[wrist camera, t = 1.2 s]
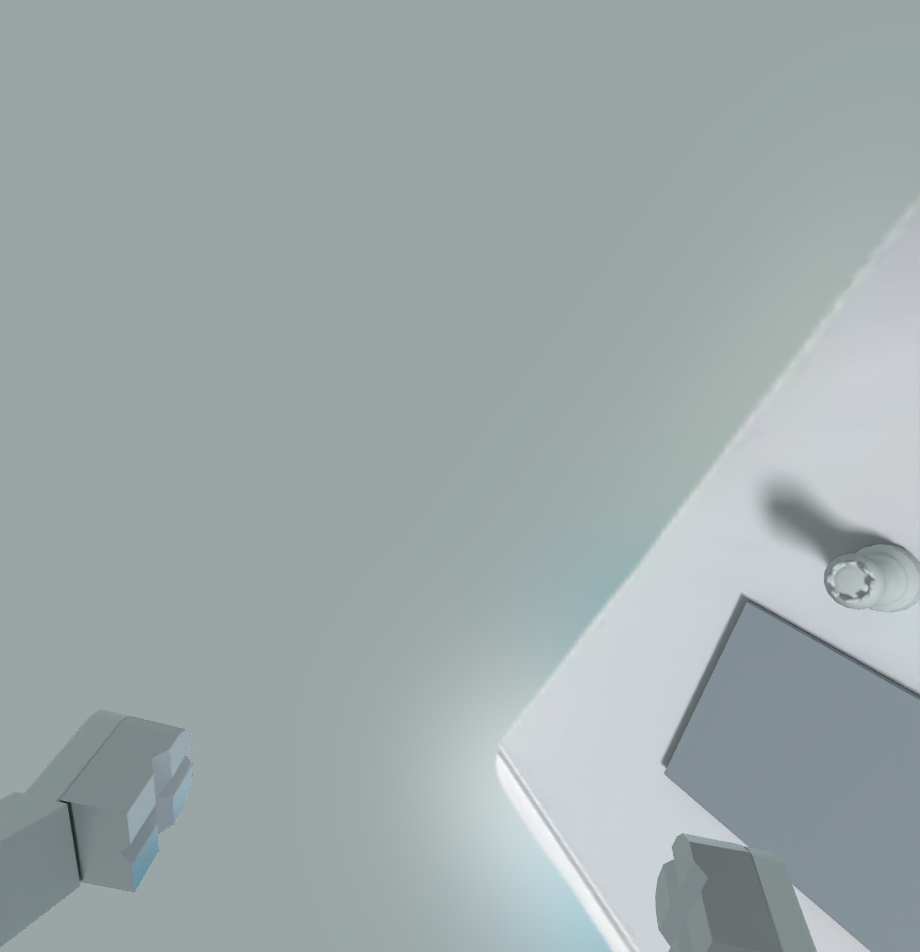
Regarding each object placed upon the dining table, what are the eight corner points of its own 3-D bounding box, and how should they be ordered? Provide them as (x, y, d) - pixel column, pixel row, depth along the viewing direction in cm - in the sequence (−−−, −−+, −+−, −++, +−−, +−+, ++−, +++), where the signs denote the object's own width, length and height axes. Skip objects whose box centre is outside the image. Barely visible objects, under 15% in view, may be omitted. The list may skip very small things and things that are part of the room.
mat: (1093, 794, 34) (1092, 798, 34) (946, 1007, 38) (944, 1014, 37) (750, 601, 48) (746, 602, 48) (668, 771, 52) (663, 773, 51)
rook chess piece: (944, 594, 40) (913, 601, 34) (873, 622, 42) (834, 633, 37) (900, 531, 42) (864, 528, 36) (835, 562, 44) (792, 564, 39)
